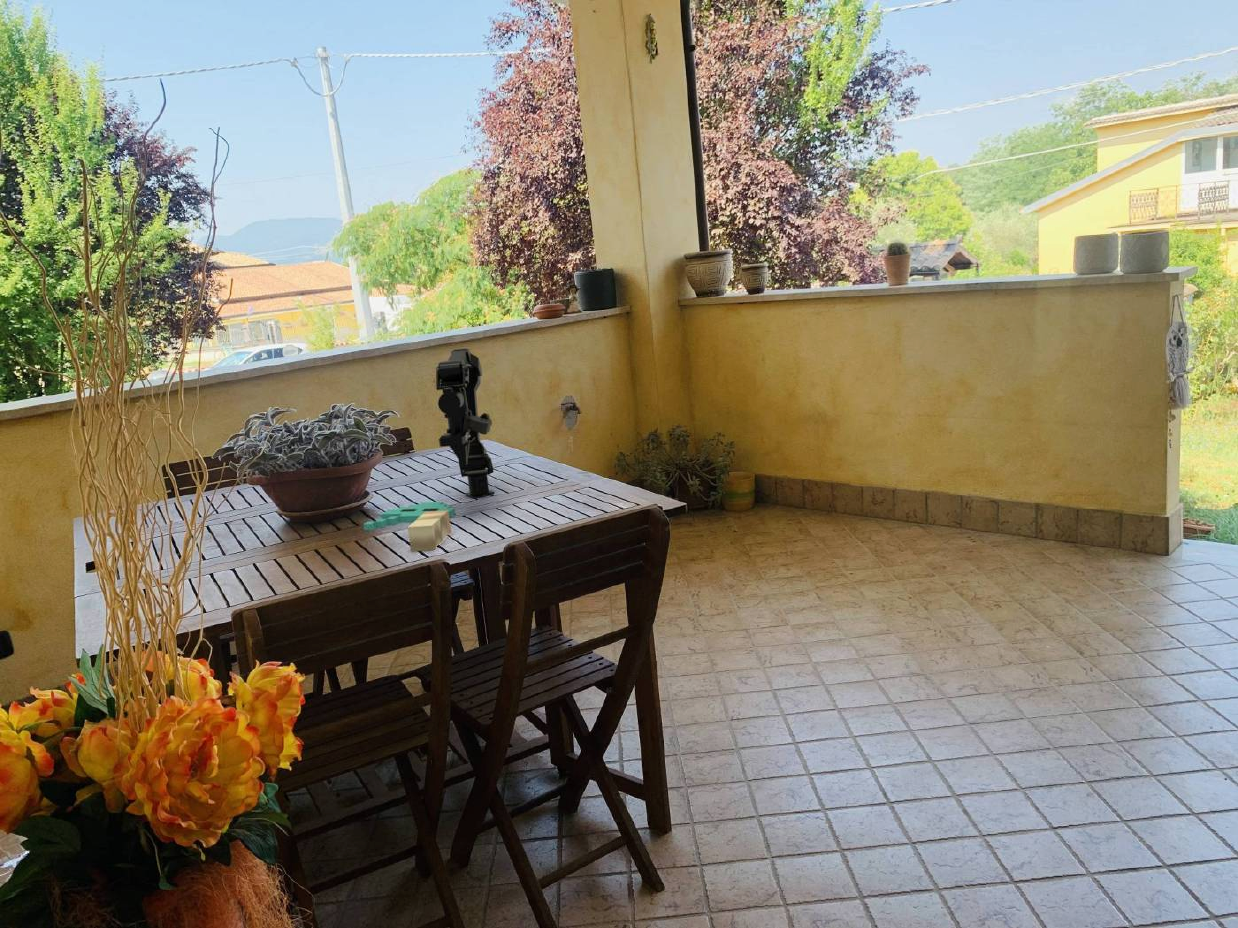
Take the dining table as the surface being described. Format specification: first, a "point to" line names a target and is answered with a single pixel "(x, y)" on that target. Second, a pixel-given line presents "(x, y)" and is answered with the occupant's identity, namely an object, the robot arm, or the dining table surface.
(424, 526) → the maple block
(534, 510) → the dining table surface
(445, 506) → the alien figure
